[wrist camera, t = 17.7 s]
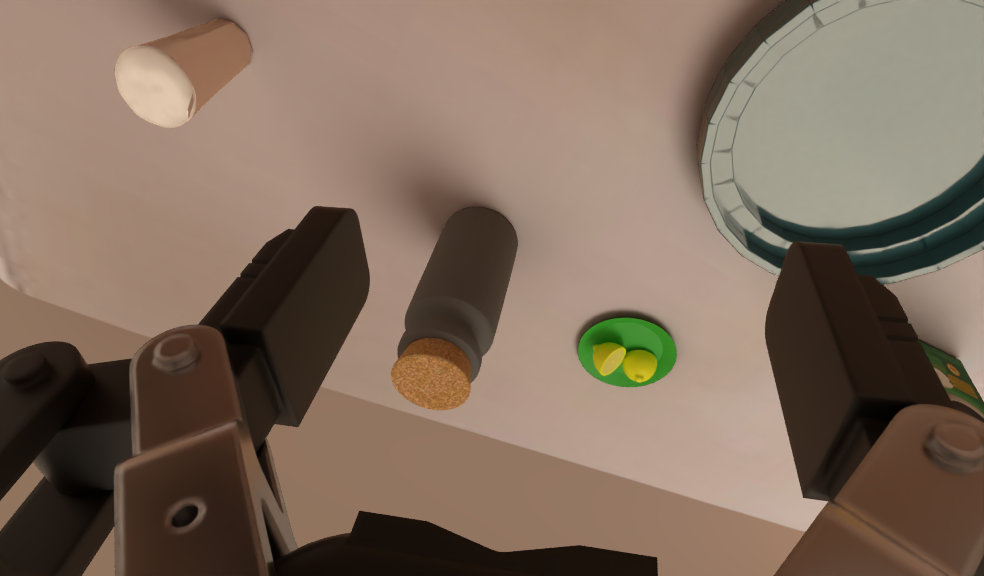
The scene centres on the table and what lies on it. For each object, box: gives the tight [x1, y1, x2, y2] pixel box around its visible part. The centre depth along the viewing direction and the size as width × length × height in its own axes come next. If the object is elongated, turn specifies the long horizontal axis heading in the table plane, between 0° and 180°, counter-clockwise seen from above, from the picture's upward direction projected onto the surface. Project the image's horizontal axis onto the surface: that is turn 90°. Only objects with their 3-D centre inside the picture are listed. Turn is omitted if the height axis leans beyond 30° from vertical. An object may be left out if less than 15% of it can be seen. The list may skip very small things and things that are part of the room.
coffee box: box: [917, 340, 984, 423], centre depth 40 cm, size 8×3×13 cm, turn 68°
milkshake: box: [115, 18, 252, 128], centre depth 36 cm, size 4×5×10 cm
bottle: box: [391, 207, 518, 410], centre depth 40 cm, size 6×6×15 cm
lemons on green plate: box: [578, 318, 677, 387], centre depth 49 cm, size 8×8×3 cm
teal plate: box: [697, 0, 984, 284], centre depth 35 cm, size 19×19×3 cm
